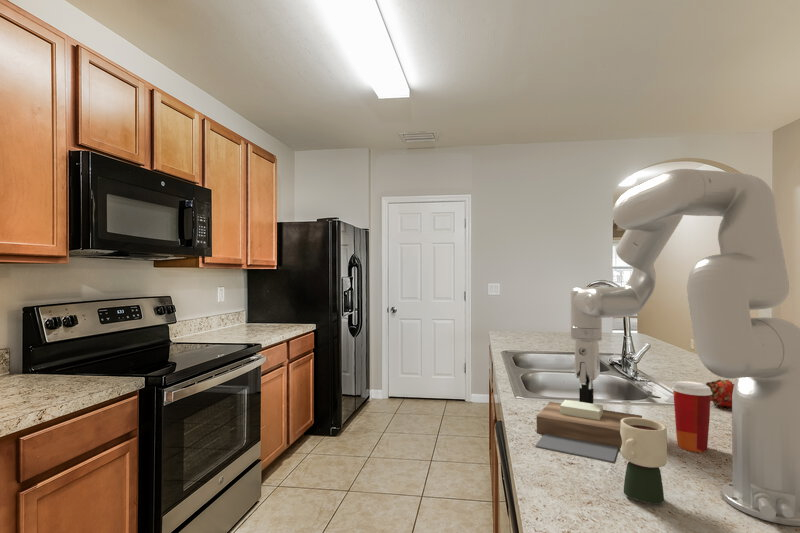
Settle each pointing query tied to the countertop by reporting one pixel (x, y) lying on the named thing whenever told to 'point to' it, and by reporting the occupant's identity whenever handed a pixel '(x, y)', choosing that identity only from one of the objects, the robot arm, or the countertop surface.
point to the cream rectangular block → (581, 409)
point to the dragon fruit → (721, 392)
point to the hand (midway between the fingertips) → (586, 403)
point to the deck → (582, 425)
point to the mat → (578, 447)
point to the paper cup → (692, 415)
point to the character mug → (644, 458)
